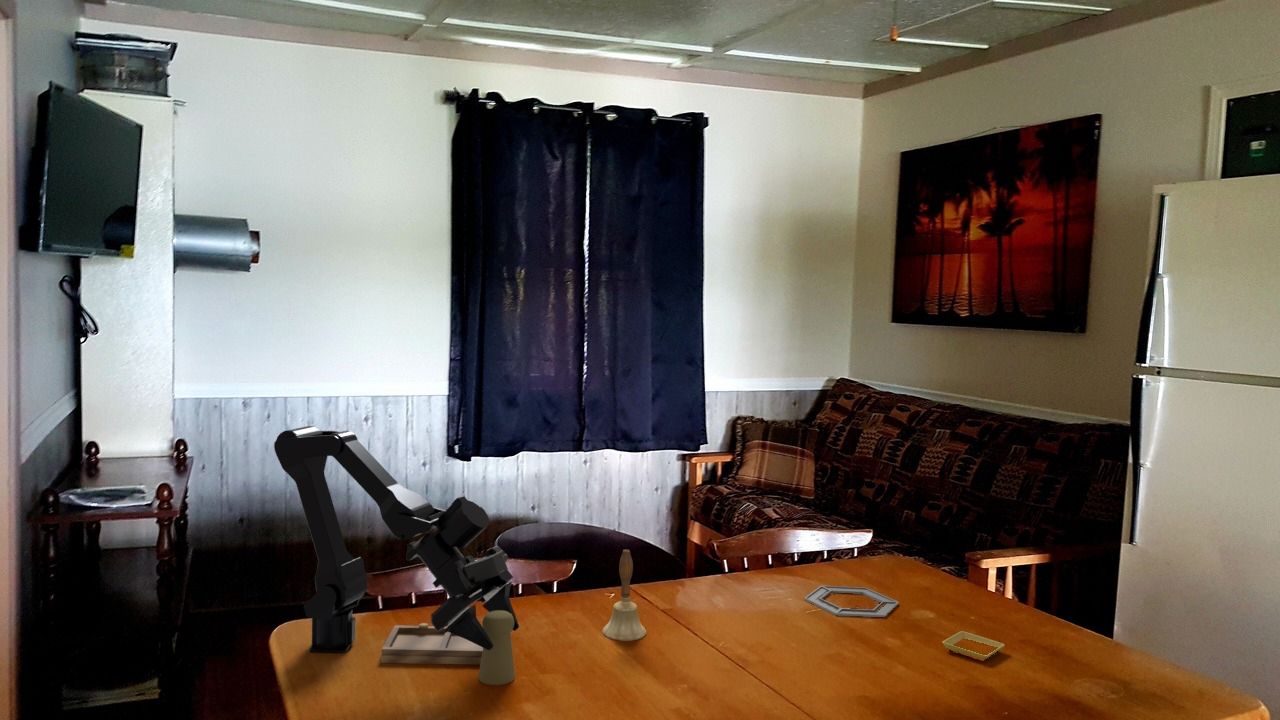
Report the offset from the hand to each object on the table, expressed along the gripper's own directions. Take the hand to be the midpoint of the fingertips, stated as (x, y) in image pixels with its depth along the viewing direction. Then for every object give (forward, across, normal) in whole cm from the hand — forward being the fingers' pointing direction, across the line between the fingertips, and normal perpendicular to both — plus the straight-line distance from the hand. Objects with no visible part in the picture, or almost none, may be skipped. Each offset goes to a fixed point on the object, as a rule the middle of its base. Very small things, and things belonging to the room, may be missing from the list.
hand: (504, 638), depth 156 cm
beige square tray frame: (+58, +47, -47) cm, 88 cm away
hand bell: (+13, +28, -3) cm, 31 cm away
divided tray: (-6, +6, +15) cm, 17 cm away
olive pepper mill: (+4, 0, +6) cm, 7 cm away
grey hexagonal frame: (+40, +65, -30) cm, 82 cm away
